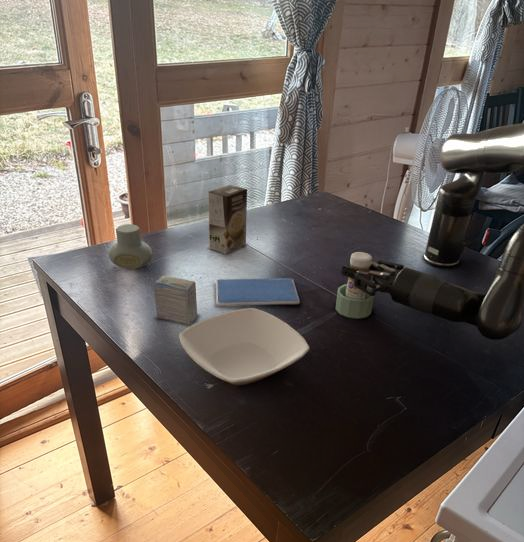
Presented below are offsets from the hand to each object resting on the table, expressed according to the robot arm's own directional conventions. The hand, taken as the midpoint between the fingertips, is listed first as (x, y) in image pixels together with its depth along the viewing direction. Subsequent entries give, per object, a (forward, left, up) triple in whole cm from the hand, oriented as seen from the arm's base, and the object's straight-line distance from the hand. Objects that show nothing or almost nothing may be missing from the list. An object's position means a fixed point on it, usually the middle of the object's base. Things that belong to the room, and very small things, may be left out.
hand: (349, 266), depth 115 cm
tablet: (+10, -18, -10) cm, 23 cm away
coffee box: (-6, -42, -10) cm, 44 cm away
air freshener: (+20, -52, -10) cm, 57 cm away
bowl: (+33, -2, -10) cm, 35 cm away
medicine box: (+30, -24, -10) cm, 40 cm away
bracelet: (0, +3, -10) cm, 10 cm away
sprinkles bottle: (0, +3, -10) cm, 11 cm away
